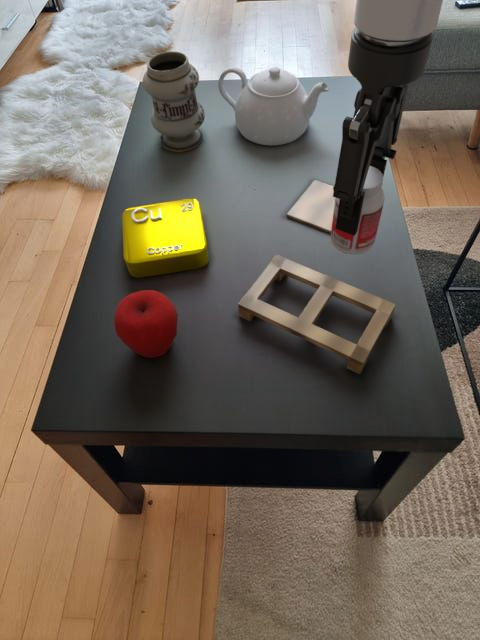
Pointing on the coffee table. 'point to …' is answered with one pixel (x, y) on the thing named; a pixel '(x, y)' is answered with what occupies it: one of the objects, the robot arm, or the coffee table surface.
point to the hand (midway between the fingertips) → (357, 214)
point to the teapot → (272, 105)
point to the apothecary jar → (174, 100)
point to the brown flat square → (315, 206)
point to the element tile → (164, 238)
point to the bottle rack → (318, 310)
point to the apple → (146, 322)
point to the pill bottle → (362, 218)
